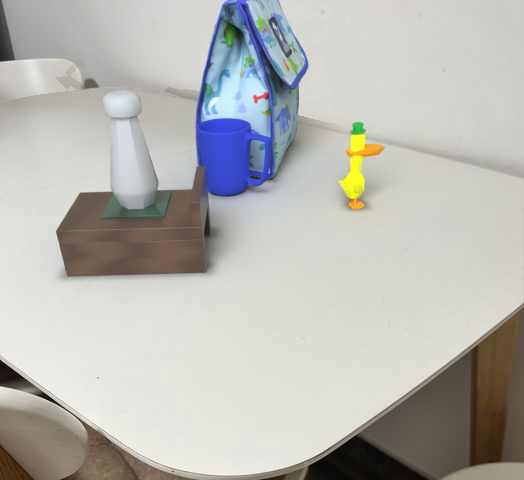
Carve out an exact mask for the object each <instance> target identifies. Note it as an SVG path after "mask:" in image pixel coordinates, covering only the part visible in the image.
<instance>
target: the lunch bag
mask: <svg viewBox="0 0 524 480" xmlns="http://www.w3.org/2000/svg"><path fill="white" fill-rule="evenodd" d="M308 70H309V60H308V57H307V55H306V52H305V50H304V48H303V47H302V45H301V43H300V42H299V40H298V38H297V36H296V34H295V33H294V31H293V29H292V26H291V25H290V23H289V21H288V19H287V17H286V15H285V12H284V10H283V7H282V5H281V3H280V0H226V1H224V2H223V3H222V5H221V7H220V11H219V13H218V15H217V18H216V21H215V24H214V26H213V30H212V34H211V38H210V42H209V47H208V52H207V56H206V61H205V65H204V69H203V73H202V76H201V77H202V78H201V84H200V88H199V94H198V99H197V103H196V110H195V128H196V127H197V125H198V124H199V123H201V122H204V121H207V120H211V119H219V118H234V119H241V120H245V121H247V122H249V123H250V124H251V133H253V134H259V135H264V136H267V137H270V138H271V139H272V146H271V159H270V167H269V173H268V176H267V179H266V181H267V180H272V179H273V178H274V177H275V175H276V174H277V171H278V169H279V167H280V165H281V163H282V160H283V158H284V156H285V153H286V151H287V149H288V148H289V146H290V144H291V143H292V142H293V141H294V140H295V139H296V136H297V131H298V120H299V119H298V117H299V109H300V108H299V106H300V82H301V81H302V79H303V78H304V76H305V75H306V73H307V71H308ZM195 147H196V160H197V167H202V161H201V155H200V149H199V143H198V136H197V130H196V129H195ZM264 159H265V143H264V142H262V141H258V140H251V143H250V162H249V174H250V177H253V178H258V179H261V177H262V174H263V168H264Z"/></svg>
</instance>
